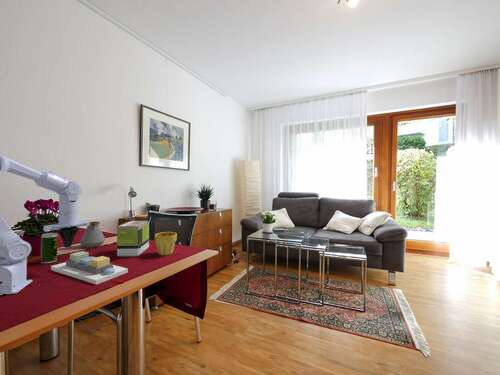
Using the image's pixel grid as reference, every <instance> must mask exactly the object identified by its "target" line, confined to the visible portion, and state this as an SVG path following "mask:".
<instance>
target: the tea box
mask: <svg viewBox="0 0 500 375" xmlns="http://www.w3.org/2000/svg"><path fill="white" fill-rule="evenodd" d="M149 247H150V221H149V220H130V221H127V222H124V223H122V224H120V225H118V226H117V228H116V256H117V257H139V256H140V255H141V254H142V253H143V252H145V251H146V250H147V249H149Z"/></svg>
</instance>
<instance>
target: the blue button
mask: <svg viewBox="0 0 500 375" xmlns="http://www.w3.org/2000/svg"><path fill="white" fill-rule="evenodd" d="M93 258H97V257H96V256H89V257H88V258H84V259H80V264H83V265H90V259H93Z"/></svg>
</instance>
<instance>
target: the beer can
mask: <svg viewBox="0 0 500 375" xmlns="http://www.w3.org/2000/svg"><path fill="white" fill-rule="evenodd" d="M58 237H59V234H58V232H46V233H43V234H41V237H40V239H41V240H40V263H41V264H43V265H44V264H45V265H47V264H51V263H55V262H57V260H58V251H59V250H58V246H59V242H58V241H59V238H58Z"/></svg>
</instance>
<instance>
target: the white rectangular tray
mask: <svg viewBox="0 0 500 375" xmlns="http://www.w3.org/2000/svg"><path fill="white" fill-rule="evenodd" d="M50 271H52V272H56V273H59V274H62V275H65V276H69V277H72V278H75V279H77V280H81V281H84V282H85V283H86V282H87V283H89V284H93V285H99V284H102V283H105V282H107V281H109V280H113V279H115V278H118V277H120V276H122V275H125V274H127V273H129V272H128V271H129V268H127V267H123V266H118V265H115V264H114V263H110V265H107V266H104V267H100V268H94V267H90V265H83V264H80V262H72V261H70V259H67V260H65V262H61V263H58V264H54V265H50Z"/></svg>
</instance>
